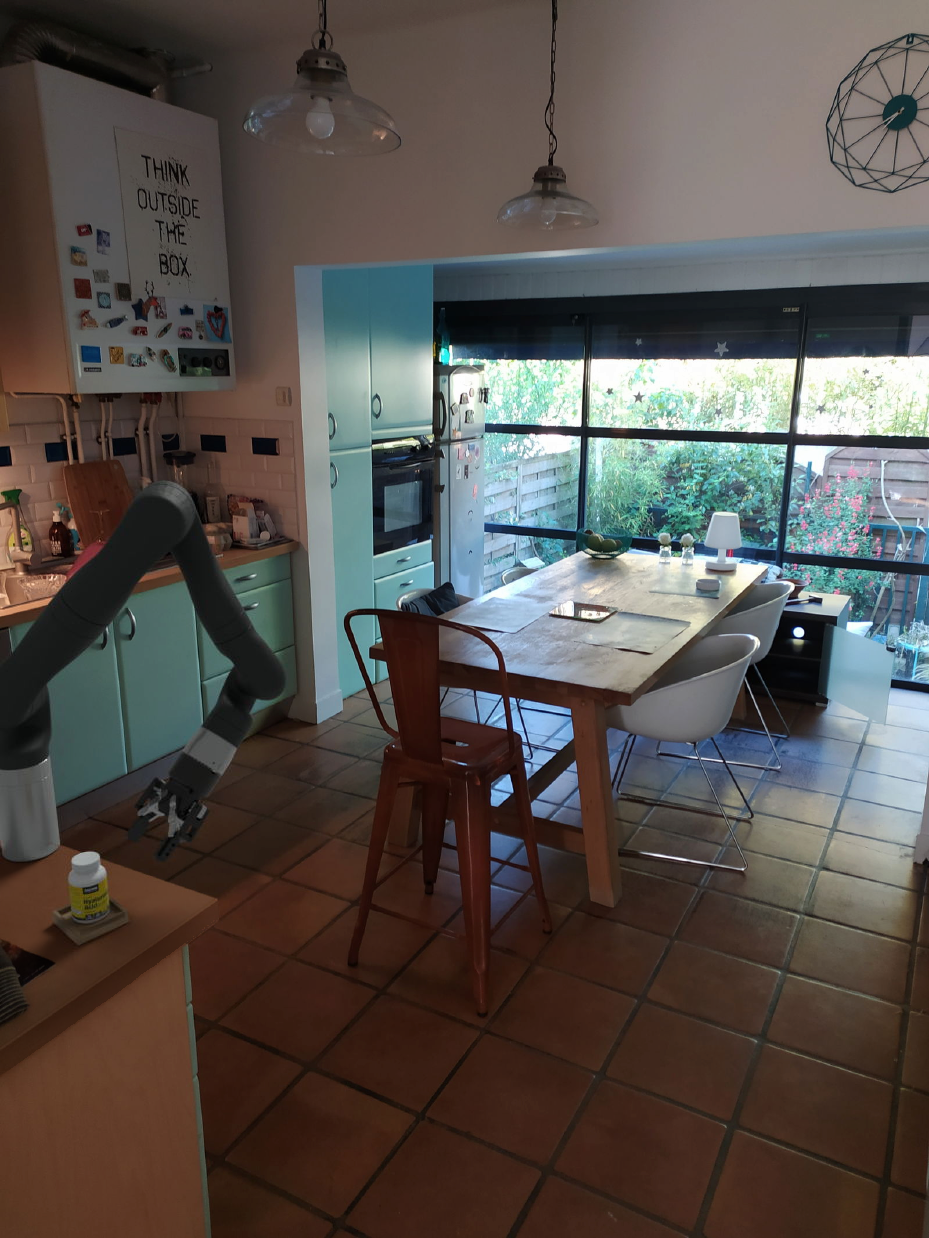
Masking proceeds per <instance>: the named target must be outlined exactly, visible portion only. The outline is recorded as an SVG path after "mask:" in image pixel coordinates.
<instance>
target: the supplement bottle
mask: <svg viewBox="0 0 929 1238" xmlns="http://www.w3.org/2000/svg"><path fill="white" fill-rule="evenodd" d="M70 862H71V869H72V870H71V871H70V872H69V874H68V877H67V880H68V881H67V883H68V889H69V890H68V892H69V900H70V904H71V911H72V917H73V919H74V920H75V921H76V922H78V923H82V924H89V923H94V922H97V921H99V920H101V919H103V918H104V917H106V916H107V915H108V913H109V910H110V906H109V896H110V895H109V888H108V887H109V886H108V885H109V884H108V877H107V875H108V874H107V870H106V868H105V866H103V865H101V856H100V854H99V853H98V852H95V851H85V852H80V853H78V854H76V855H74V856H73V857H72V858H71V861H70Z"/></svg>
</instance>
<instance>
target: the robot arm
mask: <svg viewBox="0 0 929 1238" xmlns="http://www.w3.org/2000/svg"><path fill="white" fill-rule="evenodd" d="M210 543H211V542H209V539H208V536H207V534H206V530H205V529H204V525H203V524H202V521H201V517H200V515H199V513H198V510H197V507H196V505H195V502H194V500H193V498H192V496H191V494H190V493H189V491H187V490H186V488H184V487H183V486H181V485H180V484H179V483H177V482H174V481H170V480H156V481H154V482H151V483H150V484H148V485H147V486H145V487H144V488H143V489H142V490H140V492H139V493H138V494H137V495H136V497H134V498H133V500H131V502H130V504H129V506H128V507H127V509H126V510H125V513H124V514H123V516H122V518H121V520H120V521H119V522H118V525H116V527H115V529H114V531H113V532H112V533H111V535H110V537H109V538H108V539H107V541H106V542H105V544H104V545H103V546H102V548H100V550H99V551H98V552H97V553H96V554H95V555H94V556H93V557H92V558H90V559H89V560H88V561H87V562H85V563H84V564H83V565H82V566H81V567H80V568H78V569H77V571H75V572H74V573H73V574H72V575H71V577H69V578H68V580H67V581H65V582H64V584H63V585H61V587H60V589H59V590H58V591H56V594H55V595H54V596H53V597H52V598H51V600H50V601H49V602H48V603H47V605H46V606H45V607H44V609H43V610H42V612H40V614H39V615H38V617H37V618H36V619H35V620H34V622H33V623H32V624H31V626H30V628H29V629H28V630H27V632H25V635H24V636H23V637H22V639H21V640H20V642H19V643H18V644H17V645H16V646H15V648H14V650H12V652H11V653H9V655H8V656H7V657H6V658H5V660H3V661H2V662H1V663H0V847H1V854H2V856H3V858H5V859H6V860H8V861H11V862H30V861H35V860H38V859H42V858H44V857H47V856H49V855H51V854H52V853H54V852H56V850H57V849H59V847H60V845H61V839H60V831H59V822H58V814H57V813H58V812H57V805H56V799H55V798H56V797H55V788H54V780H53V771H52V763H51V756H50V742H51V738H52V735H53V731H52V730H53V728H52V727H53V726H52V711H51V710H52V709H51V699H50V698H51V697H50V692H49V687H48V684H49V683H50V681H52V679H53V678H54V677H55V676H57V675H58V674H59V673H60V672H61V671H63V670H64V669H65V668H66V667H68V666H69V665H70V664H71V663H72V662H74V661H75V660H76V659H77V658H78V657H80V656H81V654H83V653H84V652H85V651H87V649H89V648H90V647H91V646H92V644H93V643H94V642H96V640H98V638H100V636H102V634H103V633H104V632H105V631H106V629H107V628H108V627H109V626H110V625H111V624H112V622H113V621H114V620H115V618H116V617H118V615H119V613H120V612H121V610H122V609H123V607H124V606H125V605H126V603H127V601H128V600H129V598H130V596H131V595H132V593H133V592H134V589H135V588H136V587H137V585H138V583H139V582H140V581H141V580H142V579H143V577H144V576H145V575H146V574H147V573H148V572H149V571H150V570H151V569H153V567H154V566H155V565H156V564H158V562H159V561H160V560H162V559H163V558H164V557H165V556H166V555H167V554H168V553H170V555H172V557H173V558H174V561H175V562H176V565H178V568H179V570H180V572H181V574H182V576H183V579H184V582H185V585H186V588H187V591H188V593H189V596H190V597H189V598H190V599H191V602H192V605H193V608H194V610H195V613H196V615H197V617H198V619H199V622H200V623H201V625H202V627H203V629H204V630H205V632H206V634H207V635H208V636H209V639H210V640H211V642H212V643H213V645H214V646H215V647H216V649H217V651H218V652H219V653H220V654H221V655H222V656H224V657H225V658H227V659H228V660H230V662H231V663H232V664H233V666H232V668H231V669H230V670H229V672H228V674H227V676H226V678H225V680H224V684H223V686H222V688H221V690H220V692H219V695H218V698H217V701H216V703H215V705H214V707H213V708H212V709H211V711H209V713H208V715H207V716H206V718H205V719H204V721H203V723H202V724H201V725H200V727H199V728H198V730H197V731H196V732H195V733H194V734H193V735H192V736H191V738H190V739H189V741H188V742H187V743H186V744H185V746H184V748H183V750H181V752H180V753H179V755H178V757H177V758H176V760H175V761H174V763H173V764H172V765H171V767H170V769H169V770H168V772H167V775H168V777H169V779H168V781H164V780H163V779H161V778H159V777H157V776H155V777H154V778H153V779H152V781H151V782H150V783H149V785H148V786H147V788H146V789H145V790H144V792H143V793H142V795H141V796H140V797H139V799H137V802H136V803H135V804H134V809H135V810H136V812H137V817H136V819H135V821H134V822H133V823H132V825H131V826H130V827H129V829H128V831H127V833H126V835H125V838H126V839H127V840H129V841H131V842H133V843H135V844H137V843H138V842H139V841H140V840H141V838H142V837H143V835H144V833H145V832H146V831H147V829H148V828H149V826H151V823H150V822H152V821H154V820H155V819H157V818H158V817H164V816H166V817H167V822H168V823H169V827H168V834H167V835H165V837H164V838H163V839H162V841H161V843H160V844H159V845H158V847H157V848H156V850H155V852H154V853H153V859H155V860H156V861H158V862H160V863H166V861H168V860H169V859H170V857H171V856H172V854H173V852H174V851H175V850H176V848H177V846H178V845H179V844H180V843H184V842H185V843H187V844H191V843H192V842H193V841H194V839H195V837H196V835H197V834H198V832H199V830H200V829H201V827H202V825H203V824H204V822H205V821H206V818H207V817H208V815H210V814H209V813H210V810H211V809H210V808H208V807H207V806H205V805H203V803H200V800H201V799H202V798H207V797H209V796H210V794H211V793H212V791H213V790H214V787H215V786H216V785H217V784H218V782H219V780H220V779H221V778H222V775H223V774H224V773H225V771H226V770H227V768H228V766H229V765H230V763H231V762H232V759H233V758H234V756H235V754H236V751H237V750H238V748H239V747H240V746H241V744H242V742H243V741H244V740H245V739H246V737H247V734H248V733H249V731H250V730H251V727H252V725H253V717H252V715H251V712H252V710H253V707H254V705H255V703H256V701H257V700H260V701H272V700H276V699H278V698H279V697H280V696H281V695H282V694H283V693H284V691H285V689H286V688H287V687H286V686H287V673H286V670H285V667H284V665H283V663H282V662H281V660H280V659H279V657H278V656H277V654H276V653H275V652H274V651H273V650H272V648H271V647H270V646H269V644H268V643H267V642H266V641H265V640H264V639H263V638H262V637H261V636H260V635H259V633H258V632H257V630H256V628H255V626H254V624H253V622H252V620H251V619H250V617H249V616H248V613H247V611H246V610H245V608H244V607H243V605H242V603H241V602H240V600H239V598H238V596H237V595H236V593H235V591H234V589H233V588H232V586H231V584H230V583H229V581H228V579H227V577H226V575H225V572H224V571H223V569H222V566H221V565H220V563H219V561H218V558H217V557H216V555H215V552H214V551H213V550H214V549H213V548H212V546H211V544H210ZM148 799H149V801H148ZM147 801H148V802H147ZM146 802H147V804H146V805H145V803H146ZM190 827H191V828H190ZM189 828H190V830H189ZM188 830H189V831H188ZM52 843H53V844H52ZM55 844H56V845H55ZM57 845H58V846H57Z"/></svg>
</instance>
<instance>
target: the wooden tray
mask: <svg viewBox="0 0 929 1238" xmlns="http://www.w3.org/2000/svg"><path fill="white" fill-rule="evenodd" d="M109 906H110V910H109V913H108V915H107V916H106V917H104V918H103V919H101V920H99V921H97V922H94V923H89V924H82V923H78V922H76V921H75V920H74V919H73V917H72V911H71V903H69V904H67V905H65V906H63V907H60V908H58V909H55V910H53V911H52V919H53V924H54V925H56V926H57V928H58V929H60V930H61V931H62V932H63V933H64V934H65V935H66V936H67V937H69V939H70V940H72V941H73V942H74V943H75V945H77V946H81V945H82V944H84V943H87V942H88V941H91V940H93V939H96V938H98V937H100V936H102V935H104V934H107V933H108V932H111V931H113V930H115V929H117V928H119V927H121V926H123V924H124V925H126V924H128V923H129V922H130V920H129V911H128V909H126V908H125V907H123V906H122V905H121V904H120V903H119V902H118V901H116V899H114V898H113V897H112V896H110V895H109ZM127 922H128V923H127ZM125 923H126V924H125Z"/></svg>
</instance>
